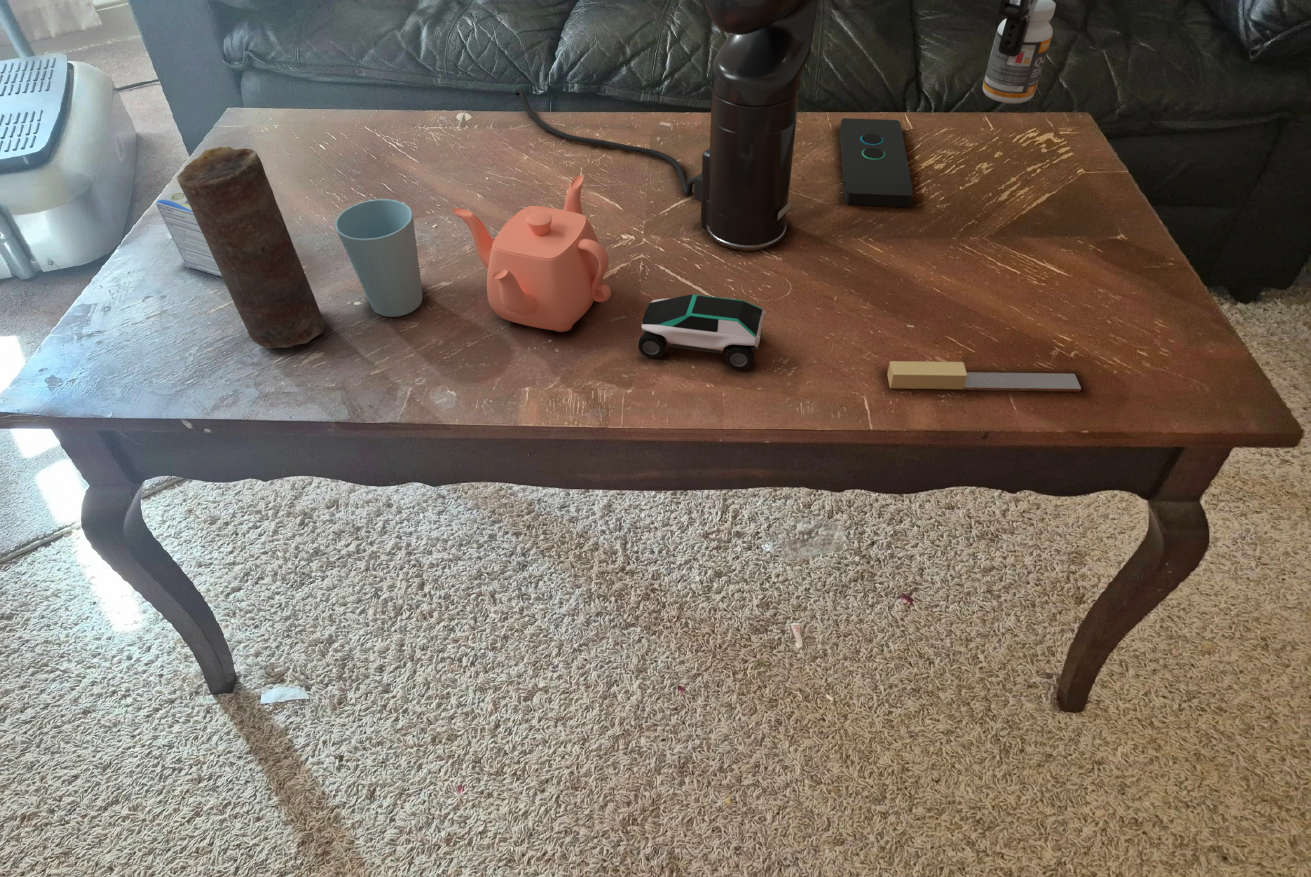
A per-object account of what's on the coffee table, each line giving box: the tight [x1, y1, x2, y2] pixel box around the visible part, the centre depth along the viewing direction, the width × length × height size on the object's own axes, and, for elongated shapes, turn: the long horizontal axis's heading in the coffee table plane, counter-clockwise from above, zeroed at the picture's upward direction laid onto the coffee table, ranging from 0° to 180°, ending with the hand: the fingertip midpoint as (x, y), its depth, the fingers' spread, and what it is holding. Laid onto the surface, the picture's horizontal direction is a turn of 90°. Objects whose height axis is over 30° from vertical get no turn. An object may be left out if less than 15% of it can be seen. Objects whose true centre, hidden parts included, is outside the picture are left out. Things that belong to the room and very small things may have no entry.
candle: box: [176, 146, 326, 349], centre depth 85 cm, size 8×7×20 cm
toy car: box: [637, 293, 766, 371], centre depth 88 cm, size 6×12×5 cm, turn 77°
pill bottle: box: [982, 0, 1057, 104], centre depth 96 cm, size 6×6×10 cm
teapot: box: [451, 175, 612, 333], centre depth 91 cm, size 14×14×11 cm
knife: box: [886, 360, 1082, 393], centre depth 84 cm, size 18×2×2 cm, turn 88°
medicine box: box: [155, 185, 223, 278], centre depth 98 cm, size 8×4×9 cm, turn 65°
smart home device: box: [839, 117, 914, 208], centre depth 114 cm, size 8×2×20 cm
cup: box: [334, 198, 423, 318], centre depth 92 cm, size 8×8×10 cm
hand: (1021, 43), depth 95 cm, fingers closed on pill bottle, 5 cm apart
